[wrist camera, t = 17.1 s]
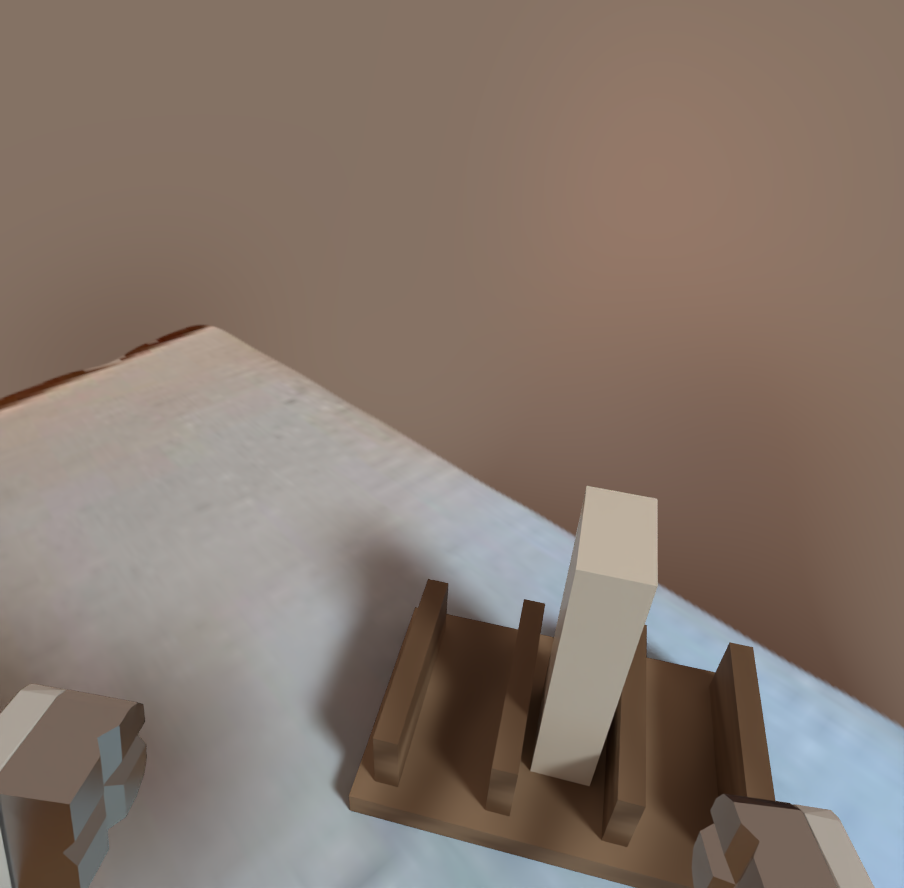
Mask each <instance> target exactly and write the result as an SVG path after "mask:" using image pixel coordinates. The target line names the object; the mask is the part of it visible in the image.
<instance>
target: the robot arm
mask: <svg viewBox="0 0 904 888" xmlns="http://www.w3.org/2000/svg"><path fill="white" fill-rule="evenodd" d="M144 722H145V716H144V706H143V704H141V703H138V702H132V701H127V700H122V699H116V698H111V697H106V696H100V695H95V694H89V693H84V692H79V691H73V690H67V689H61V688H55V687H49V686H44V685H38V684H32V683H31V684H30V685H28V686H27V687H25V688H23V689H22V690H20V691H19V692H18V693H17V694H16V695H15V696H14V697H13V699H12V700H11V701H10V702H9V703H8V704H7V706H6V707H5V708H4V709H3V710H2V712H1V713H0V888H88V887H89V885H90V883H91V882H92V880H93V878H94V876H95V874H96V872H97V870H98V869H99V867H100V865H101V863H102V861H103V859H104V857H105V855H106V854H107V852H108V850H109V841H108V829H109V828H111V827H112V826H114V825H115V824H116V823H118V822H119V821H121V820H122V819H124V818H125V817H126V816H127V814H128V812H129V810H130V808H131V806H132V804H133V802H134V800H135V798H136V796H137V793H138V790H139V787H140V784H141V781H142V778H143V775H144V771H145V765H146V758H147V754H146V744H145V742H144V741H143V740H142V739H141V738H140V737H139V736H138V733H139V731H140V729H141V728H142V726H143V724H144ZM710 811H711V815H712V818H713V821H714V824H712V825H710V826H708V827H707V828H705V829H703V830H701V831H700V832H699V835H698V837H697V840H696V842H695V844H694V847H693V857H692V876H693V885H694V888H874V886H873V884H872V882H871V880H870V878H869V876H868V874H867V872H866V870H865V868H864V866H863V864H862V862H861V860H860V858H859V856H858V854H857V852H856V850H855V848H854V846H853V844H852V842H851V840H850V839H849V837H848V835H847V833H846V831H845V829H844V827H843V825H842V823H841V821H840V819H839V818H838V817H837V816H836V815H835V814H834V813H833V812H832V811H831V810H827V809H820V808H814V807H808V806H801V805H792V804H790V803H786V802H779V801H772V800H765V799H758V798H751V797H744V796H737V795H730V794H722V795H721V796H719V797H717V798H716V800H715V802H714V804H713V806H712V808H711V810H710Z"/></svg>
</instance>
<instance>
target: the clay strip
mask: <svg viewBox="0 0 904 888" xmlns="http://www.w3.org/2000/svg"><path fill="white" fill-rule="evenodd" d="M656 589H657V499H654V498H649V497H643V496H638V495H633V494H627V493H622V492H617V491H612V490H606V489H601V488H596V487H590V486H587V487H586V492H585V496H584V501H583V506H582V510H581V515H580V519H579V524H578V529H577V533H576V538H575V542H574V547H573V552H572V556H571V561H570V566H569V570H568V575H567V579H566V584H565V589H564V593H563V598H562V602H561V607H560V612H559V616H558V621H557V626H556V630H555V635H554V639H553V644H552V649H551V653H550V658H549V662H548V667H547V672H546V676H545V681H544V686H543V692H542V698H541V705H540V711H539V718H538V724H537V731H536V737H535V744H534V751H533V757H532V764H531V770H530V771H532V772H536V773H540V774H544V775H547V776H551V777H555V778H559V779H563V780H567V781H571V782H575V783H578V784H582V785H586V786H590V783H591V781H592V778H593V775H594V772H595V769H596V766H597V763H598V760H599V757H600V754H601V751H602V748H603V745H604V742H605V739H606V736H607V733H608V730H609V728H610V725H611V722H612V719H613V716H614V713H615V710H616V707H617V704H618V701H619V698H620V695H621V692H622V689H623V686H624V683H625V680H626V677H627V675H628V672H629V669H630V666H631V663H632V660H633V657H634V654H635V651H636V648H637V645H638V642H639V639H640V636H641V633H642V630H643V627H644V624H645V622H646V619H647V616H648V613H649V610H650V607H651V604H652V601H653V598H654V595H655V592H656Z"/></svg>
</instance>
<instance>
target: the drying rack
mask: <svg viewBox="0 0 904 888" xmlns="http://www.w3.org/2000/svg"><path fill="white" fill-rule="evenodd" d="M447 596H448V583H444V582H440V581H435V580H430V579H428V581H427V584H426V587H425V589H424V592H423V595H422V598H421V601H420V604H419V607H418V608H417V607H415V609H414V612H413V615H412V618H411V621H410V624H409V626H408V629H407V632H406V635H405V638H404V641H403V643H402V646H401V649H400V652H399V655H398V658H397V661H396V663H395V666H394V669H393V672H392V675H391V678H390V680H389V683H388V686H387V689H386V692H385V695H384V698H383V700H382V703H381V706H380V709H379V712H378V715H377V717H376V720H375V723H374V726H373V729H372V732H371V734H370V737H369V740H368V743H367V746H366V749H365V752H364V754H363V757H362V760H361V763H360V766H359V769H358V771H357V774H356V777H355V780H354V783H353V786H352V788H351V791H350V794H349V803H350V810H351V811H354V812H358V813H362V814H365V815H369V816H373V817H376V818H380V819H384V820H388V821H391V822H395V823H399V824H402V825H406V826H410V827H413V828H417V829H421V830H425V831H428V832H432V833H436V834H439V835H443V836H447V837H450V838H454V839H458V840H462V841H465V842H469V843H473V844H476V845H480V846H484V847H488V848H491V849H495V850H499V851H502V852H506V853H510V854H513V855H517V856H521V857H525V858H528V859H532V860H536V861H539V862H543V863H547V864H550V865H554V866H558V867H562V868H565V869H569V870H573V871H576V872H580V873H584V874H587V875H591V876H595V877H599V878H602V879H606V880H610V881H613V882H617V883H621V884H624V885H628V886H632V887H636V888H694V885H693V876H692V857H693V847H694V844H695V842H696V840H697V837H698V835H699V832H700V831H701V830H703V829H705V828H707V827H708V826H710V825H712V824H714V821H713V818H712V815H711V811H710V810H711V808H712V806H713V804H714V802H715V800H716V798H717V797H719V796H721V795H722V794H730V795H737V796H744V797H751V798H758V799H765V800H772V801H775V795H774V789H773V782H772V775H771V768H770V761H769V754H768V747H767V741H766V734H765V727H764V720H763V713H762V706H761V699H760V692H759V686H758V679H757V672H756V665H755V658H754V651H753V647H749V646H744V645H739V644H735V643H729V645H728V647H727V649H726V651H725V654H724V656H723V658H722V660H721V662H720V664H719V666H718V668H717V671H716V673H715V672H711V671H706V670H702V669H697V668H692V667H688V666H683V665H679V664H674V663H669V662H665V661H660V660H656V659H651V658H646V652H647V625H644V627H643V630H642V633H641V636H640V639H639V642H638V645H637V648H636V651H635V654H634V657H633V660H632V663H631V666H630V669H629V672H628V675H627V677H626V680H625V683H624V686H623V689H622V692H621V695H620V698H619V701H618V704H617V707H616V710H615V713H614V716H613V719H612V722H611V725H610V728H609V730H608V733H607V736H606V739H605V742H604V745H603V748H602V751H601V754H600V757H599V760H598V763H597V766H596V769H595V772H594V775H593V778H592V781H591V783H590V786H586V785H582V784H578V783H575V782H571V781H567V780H563V779H559V778H555V777H551V776H547V775H544V774H540V773H536V772H532V771H530V770H531V764H532V757H533V751H534V744H535V737H536V731H537V724H538V718H539V711H540V705H541V698H542V692H543V686H544V681H545V676H546V672H547V667H548V662H549V658H550V653H551V649H552V644H553V639H554V637H550V636H545V635H541V634H540V633H541V627H542V621H543V614H544V608H545V604H544V603H540V602H535V601H530V600H525V599H524V602H523V607H522V613H521V618H520V623H519V628H518V629H513V628H509V627H504V626H499V625H495V624H490V623H486V622H481V621H476V620H472V619H467V618H463V617H458V616H453V615H449V614H446V613H447Z"/></svg>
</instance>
